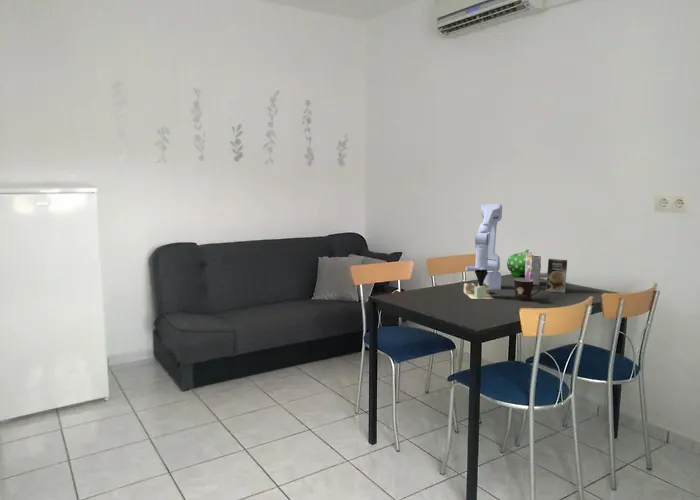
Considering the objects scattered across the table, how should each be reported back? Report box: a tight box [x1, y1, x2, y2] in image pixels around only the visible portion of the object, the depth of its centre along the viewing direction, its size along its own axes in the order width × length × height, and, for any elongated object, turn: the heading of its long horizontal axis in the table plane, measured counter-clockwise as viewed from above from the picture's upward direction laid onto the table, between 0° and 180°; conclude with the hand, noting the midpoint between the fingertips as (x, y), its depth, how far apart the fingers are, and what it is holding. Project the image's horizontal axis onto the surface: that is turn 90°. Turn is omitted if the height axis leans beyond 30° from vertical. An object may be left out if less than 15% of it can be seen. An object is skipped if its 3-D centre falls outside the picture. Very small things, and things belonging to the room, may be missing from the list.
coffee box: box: [545, 258, 568, 294], centre depth 268 cm, size 9×6×16 cm
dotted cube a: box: [477, 283, 490, 295], centre depth 260 cm, size 4×4×5 cm
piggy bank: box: [506, 249, 542, 278], centre depth 307 cm, size 14×18×15 cm
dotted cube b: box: [463, 282, 476, 295], centre depth 260 cm, size 4×4×5 cm
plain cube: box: [474, 285, 487, 297], centre depth 253 cm, size 4×4×4 cm
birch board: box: [466, 293, 495, 300], centre depth 257 cm, size 11×15×1 cm
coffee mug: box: [513, 277, 542, 302], centre depth 246 cm, size 12×9×10 cm
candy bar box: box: [524, 252, 542, 287], centre depth 284 cm, size 11×5×16 cm, turn 179°
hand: (480, 285), depth 253 cm, fingers closed
